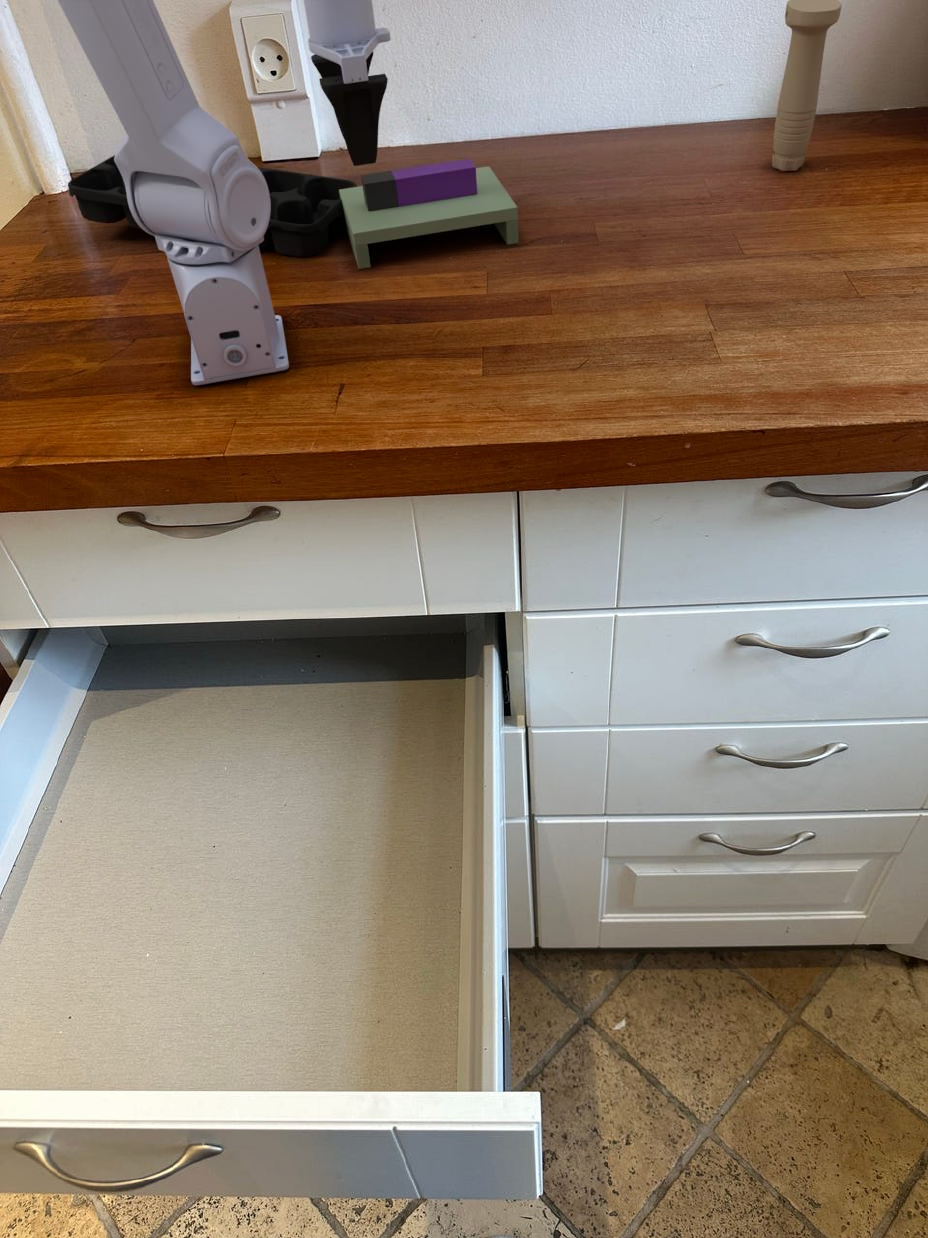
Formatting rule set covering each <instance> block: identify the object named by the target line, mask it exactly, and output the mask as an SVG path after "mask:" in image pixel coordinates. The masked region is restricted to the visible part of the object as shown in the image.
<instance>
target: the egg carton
mask: <svg viewBox="0 0 928 1238" xmlns="http://www.w3.org/2000/svg"><path fill="white" fill-rule="evenodd" d="M115 155H116V154H114V155H112V156H110V157H109V158H107V159H104V160H103V161H102V162H100V163H98V164H97V165H95V166H93V167H90V168H89V169H87V170H85V171H84V172H83V173H81V174H79V175H78V176H76V177H74V178H72V179H71V180H70V181H68V182H67V188H68V193H69V194H68V195H69V197H71V198H74V197H75V199H76V201H77V207H78V209H79V211H80V215H81V216H82V218H83V219H85V220H88V221H89V222H90V221H91V222H94V223H101V224H115V223H118V222H121V221H124V220H125V219H126V220H127V223H128V225H129V226H130V227H131V228H133V229H138V230H142V231H144V230H143V229H142V228H141V227H140V226H139V225H138V224H137V222H136V221H135V219H134V218H133V216H132V213H131V211H130V208H129V205H128V200H127V194H126V188H125V184H124V180H123V177H122V175H121V173H120V171H119V169H118V167H117V165H116V163H115V161H114V157H115ZM256 167H257V168H258V169H259V170H260V171H261V173H262V175H263V176H264V178H265V181H266V183H267V186H268V190H269V194H270V202H271V213H270V219H269V223H268V227H267V230H266V232H265V234H264V236H263V237H264V241H263V242H262V243H260V244H258V246H259V249H264V248H266V247H268V246H270V245H272V244H273V246H274V250H275V252H276V253H278V254H281V255H285V256H290V257H296V258H306V257H313V256H315V255H317V254H320V253H321V252H322V251H323V250H324V249H325V248H326V246H327V245H328V244H329V241H330V238H329V237H330V235H329V233H330V232H331V233H335V232H336V233H337V232H340V231H342V230H344V229H345V228H346V227H345V221H344V214H343V213H344V210H343V205H342V200H341V199H340V194H339V190H340V189H347V188H353V187H358V185H357V183H356V182H355V181H352V180H349V179H343V178H335V177H330V176H322V175H316V174H309V173H304V172H297V171H296V172H295V171H289V170H283V169H276V168H275V169H274V168H269V167H262V166H256Z"/></svg>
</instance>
